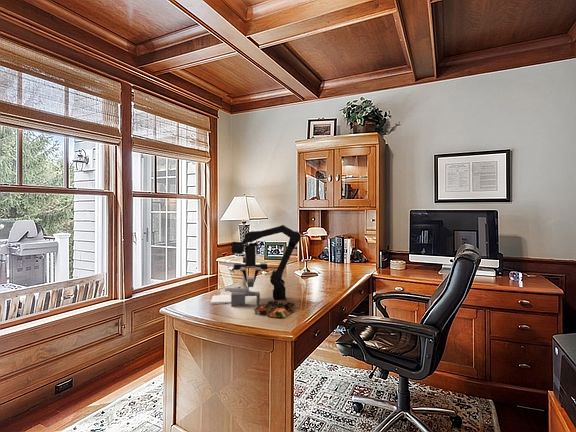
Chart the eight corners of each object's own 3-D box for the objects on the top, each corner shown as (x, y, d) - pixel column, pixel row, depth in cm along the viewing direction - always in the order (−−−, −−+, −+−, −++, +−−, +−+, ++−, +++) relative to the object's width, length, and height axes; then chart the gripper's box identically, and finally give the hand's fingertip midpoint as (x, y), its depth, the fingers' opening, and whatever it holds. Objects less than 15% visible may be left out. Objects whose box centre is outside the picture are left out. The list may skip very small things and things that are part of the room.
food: (268, 304, 184) (268, 297, 184) (302, 308, 177) (302, 301, 177) (249, 315, 163) (249, 308, 163) (285, 321, 156) (286, 313, 156)
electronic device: (226, 274, 215) (249, 274, 212) (226, 290, 215) (250, 290, 212) (223, 276, 210) (246, 276, 207) (223, 292, 210) (247, 292, 207)
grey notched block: (259, 302, 184) (259, 291, 184) (259, 305, 179) (259, 293, 179) (231, 303, 182) (231, 292, 182) (231, 306, 177) (231, 294, 177)
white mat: (234, 296, 197) (234, 295, 197) (233, 303, 183) (233, 301, 183) (212, 297, 195) (212, 295, 195) (210, 304, 182) (210, 302, 181)
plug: (253, 282, 198) (253, 275, 198) (254, 287, 186) (254, 279, 186) (246, 282, 197) (246, 275, 197) (246, 287, 186) (246, 279, 185)
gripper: (266, 252, 204) (266, 278, 204) (234, 252, 201) (234, 279, 202) (267, 254, 193) (267, 282, 193) (233, 254, 190) (233, 283, 191)
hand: (250, 281), depth 195 cm, fingers closed on plug, 4 cm apart
